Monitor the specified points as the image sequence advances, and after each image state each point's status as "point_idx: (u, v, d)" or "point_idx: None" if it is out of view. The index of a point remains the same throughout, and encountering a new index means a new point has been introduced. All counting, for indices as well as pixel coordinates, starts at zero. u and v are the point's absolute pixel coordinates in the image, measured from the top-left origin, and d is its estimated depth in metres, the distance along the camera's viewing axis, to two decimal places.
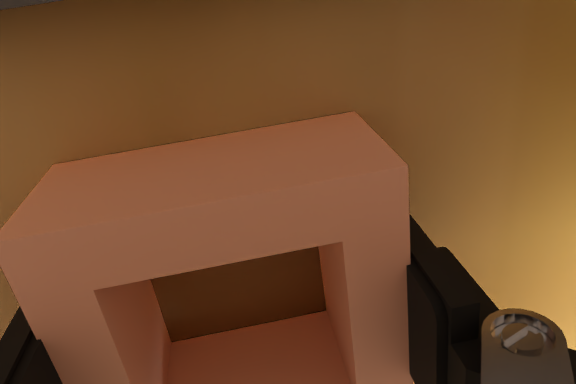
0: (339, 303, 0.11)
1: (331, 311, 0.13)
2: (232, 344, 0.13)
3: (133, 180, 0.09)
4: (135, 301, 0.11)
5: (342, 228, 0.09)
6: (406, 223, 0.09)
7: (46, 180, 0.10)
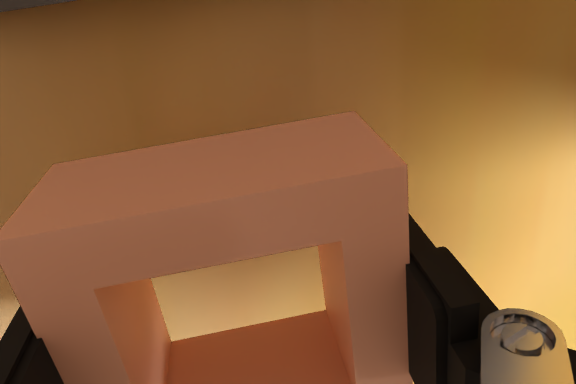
0: (338, 302, 0.11)
1: (331, 310, 0.13)
2: (232, 343, 0.13)
3: (133, 179, 0.09)
4: (135, 300, 0.11)
5: (341, 227, 0.09)
6: (405, 222, 0.09)
7: (46, 179, 0.10)
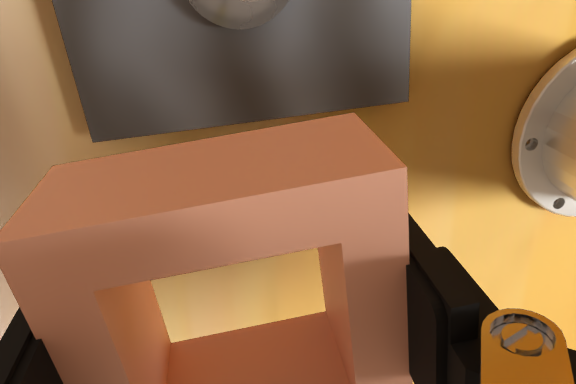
0: (338, 304, 0.11)
1: (330, 312, 0.13)
2: (232, 345, 0.13)
3: (132, 181, 0.09)
4: (136, 302, 0.11)
5: (341, 229, 0.09)
6: (405, 224, 0.09)
7: (46, 181, 0.10)
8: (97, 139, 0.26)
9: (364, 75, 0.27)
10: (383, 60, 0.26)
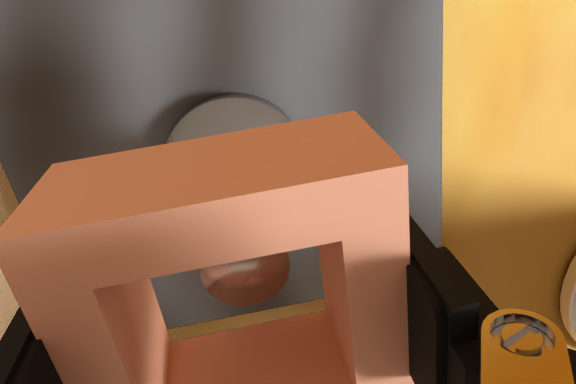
0: (339, 303, 0.11)
1: (331, 311, 0.13)
2: (232, 344, 0.13)
3: (132, 179, 0.09)
4: (135, 301, 0.11)
5: (342, 227, 0.09)
6: (406, 222, 0.09)
7: (46, 179, 0.10)
8: None
9: None
10: None
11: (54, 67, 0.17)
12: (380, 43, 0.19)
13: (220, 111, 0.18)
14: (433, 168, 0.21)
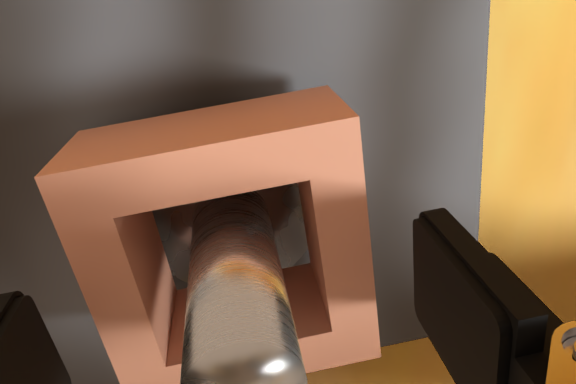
0: (314, 242, 0.13)
1: (312, 258, 0.15)
2: None
3: (144, 136, 0.12)
4: (146, 243, 0.13)
5: (309, 169, 0.11)
6: (361, 165, 0.11)
7: (74, 140, 0.12)
8: None
9: (413, 306, 0.19)
10: None
11: None
12: (410, 57, 0.15)
13: None
14: (469, 206, 0.17)
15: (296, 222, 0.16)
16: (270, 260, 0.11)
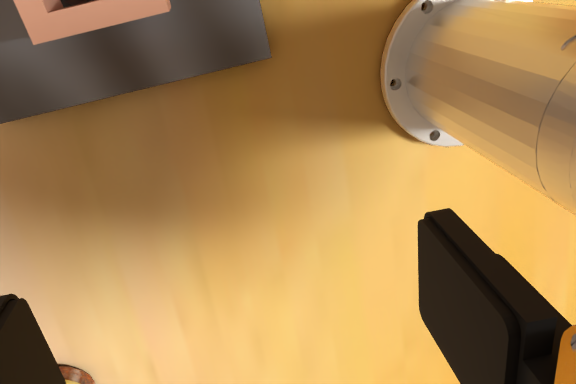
0: None
1: None
2: None
3: None
4: None
5: None
6: None
7: None
8: (2, 121, 0.30)
9: (226, 38, 0.30)
10: (240, 23, 0.30)
11: None
12: None
13: None
14: None
15: None
16: None
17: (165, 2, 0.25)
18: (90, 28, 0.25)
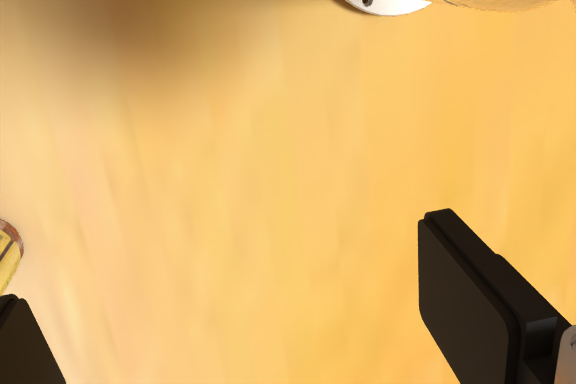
0: None
1: None
2: None
3: None
4: None
5: None
6: None
7: None
8: None
9: None
10: None
11: None
12: None
13: None
14: None
15: None
16: None
17: None
18: None
